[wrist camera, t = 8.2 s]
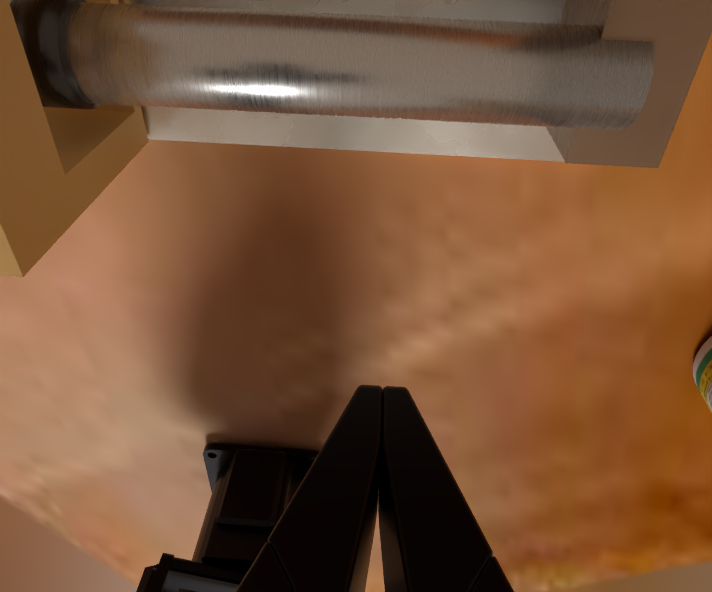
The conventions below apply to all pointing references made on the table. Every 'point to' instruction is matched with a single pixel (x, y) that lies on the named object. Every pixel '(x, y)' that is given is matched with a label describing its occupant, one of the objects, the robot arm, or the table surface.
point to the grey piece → (381, 72)
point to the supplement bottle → (704, 371)
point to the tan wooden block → (51, 156)
